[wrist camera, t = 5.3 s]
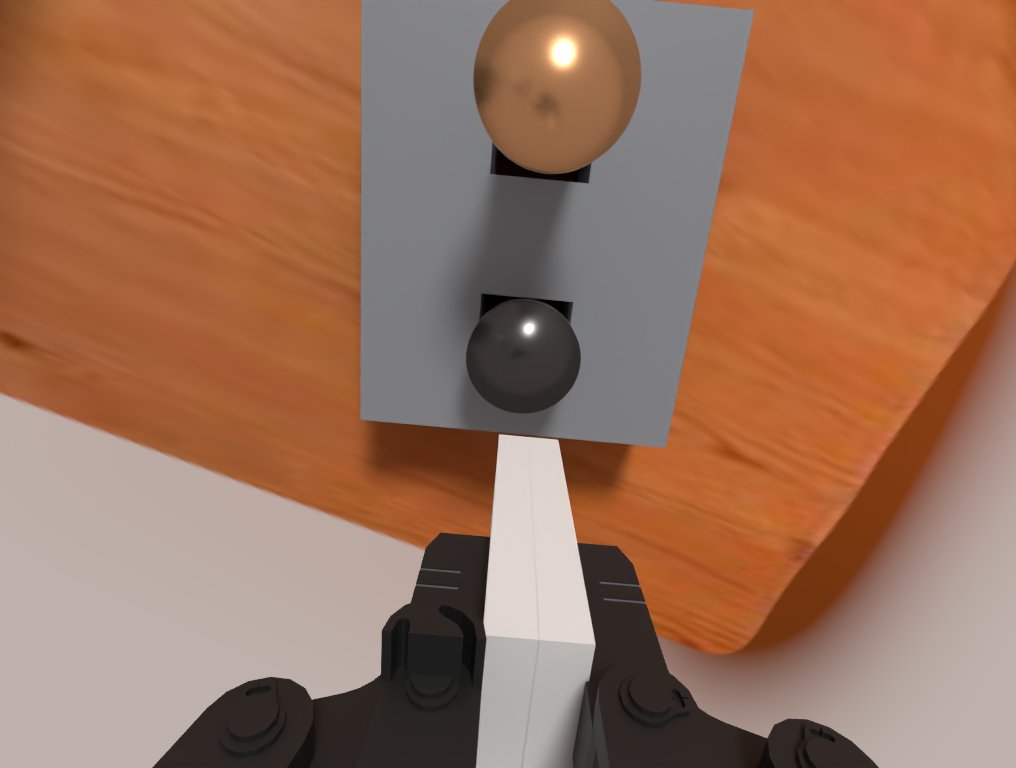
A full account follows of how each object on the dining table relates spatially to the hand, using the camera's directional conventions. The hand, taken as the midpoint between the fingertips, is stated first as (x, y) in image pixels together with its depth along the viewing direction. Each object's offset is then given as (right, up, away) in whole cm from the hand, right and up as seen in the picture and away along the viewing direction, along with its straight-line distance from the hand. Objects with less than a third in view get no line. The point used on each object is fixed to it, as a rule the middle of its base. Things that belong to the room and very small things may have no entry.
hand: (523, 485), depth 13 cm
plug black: (0, +7, +21) cm, 22 cm away
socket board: (+1, +12, +19) cm, 23 cm away
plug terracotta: (+1, +16, +13) cm, 20 cm away
